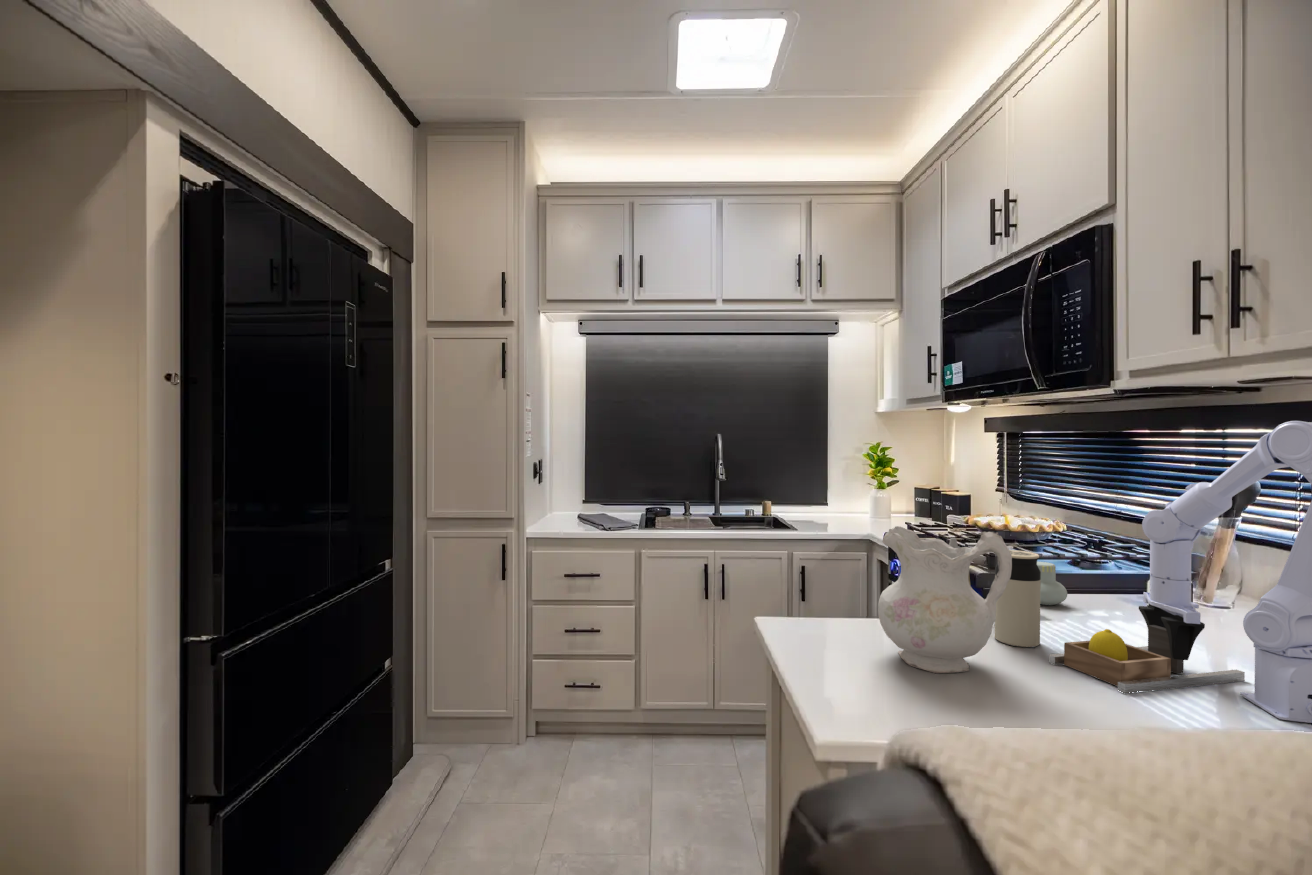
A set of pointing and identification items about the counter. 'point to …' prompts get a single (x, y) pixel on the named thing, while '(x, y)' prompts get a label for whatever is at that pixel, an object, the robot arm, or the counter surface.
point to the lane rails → (1169, 678)
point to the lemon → (1108, 645)
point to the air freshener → (1050, 585)
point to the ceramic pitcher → (940, 600)
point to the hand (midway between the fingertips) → (1169, 652)
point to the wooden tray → (1137, 664)
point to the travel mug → (1020, 603)
